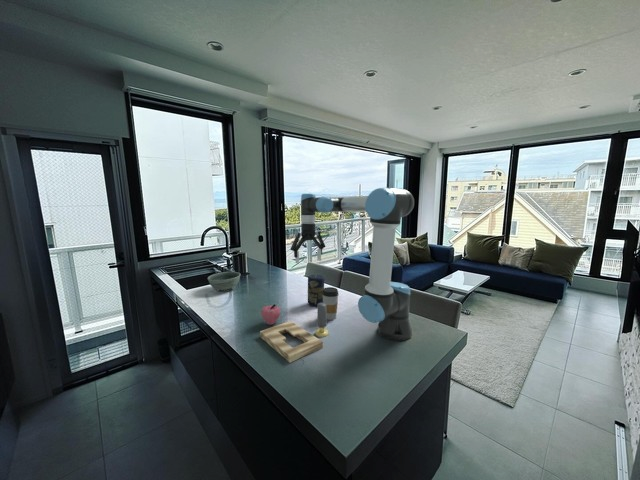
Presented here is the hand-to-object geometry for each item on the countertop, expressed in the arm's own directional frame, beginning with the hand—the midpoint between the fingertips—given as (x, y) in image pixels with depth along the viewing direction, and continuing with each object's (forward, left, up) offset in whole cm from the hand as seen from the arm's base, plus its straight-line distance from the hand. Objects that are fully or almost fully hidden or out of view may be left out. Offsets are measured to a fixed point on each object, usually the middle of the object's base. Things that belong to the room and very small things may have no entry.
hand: (308, 261), depth 143 cm
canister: (+2, -7, -27) cm, 28 cm away
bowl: (+60, +25, -27) cm, 70 cm away
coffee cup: (-16, -1, -27) cm, 31 cm away
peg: (-26, +12, -27) cm, 39 cm away
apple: (-3, +25, -27) cm, 37 cm away
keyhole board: (-23, +27, -27) cm, 45 cm away
